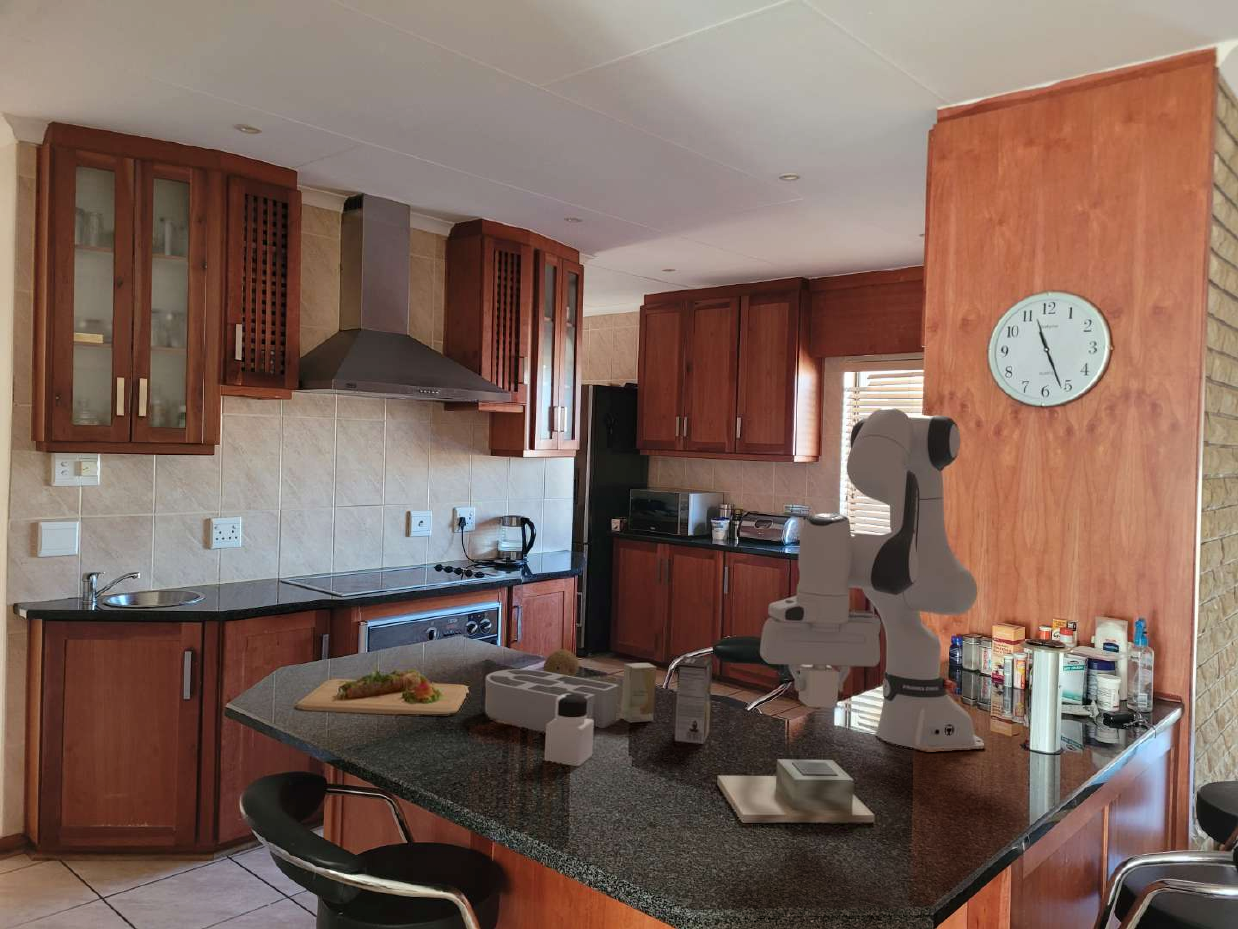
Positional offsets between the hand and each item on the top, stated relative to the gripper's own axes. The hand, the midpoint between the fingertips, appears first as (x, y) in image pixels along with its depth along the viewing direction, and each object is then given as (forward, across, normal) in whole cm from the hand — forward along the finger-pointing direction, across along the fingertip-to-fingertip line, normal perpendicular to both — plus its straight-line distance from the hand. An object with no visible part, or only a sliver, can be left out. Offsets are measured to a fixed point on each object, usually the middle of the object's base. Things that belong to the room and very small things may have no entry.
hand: (818, 690), depth 153 cm
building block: (+2, 0, 0) cm, 2 cm away
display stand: (+20, +3, -2) cm, 20 cm away
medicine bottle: (+20, +40, -24) cm, 51 cm away
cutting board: (+21, +79, -64) cm, 104 cm away
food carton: (+20, +13, -39) cm, 46 cm away
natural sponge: (+20, +39, -76) cm, 88 cm away
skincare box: (+20, +23, -51) cm, 59 cm away
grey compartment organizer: (+20, +44, -49) cm, 69 cm away
